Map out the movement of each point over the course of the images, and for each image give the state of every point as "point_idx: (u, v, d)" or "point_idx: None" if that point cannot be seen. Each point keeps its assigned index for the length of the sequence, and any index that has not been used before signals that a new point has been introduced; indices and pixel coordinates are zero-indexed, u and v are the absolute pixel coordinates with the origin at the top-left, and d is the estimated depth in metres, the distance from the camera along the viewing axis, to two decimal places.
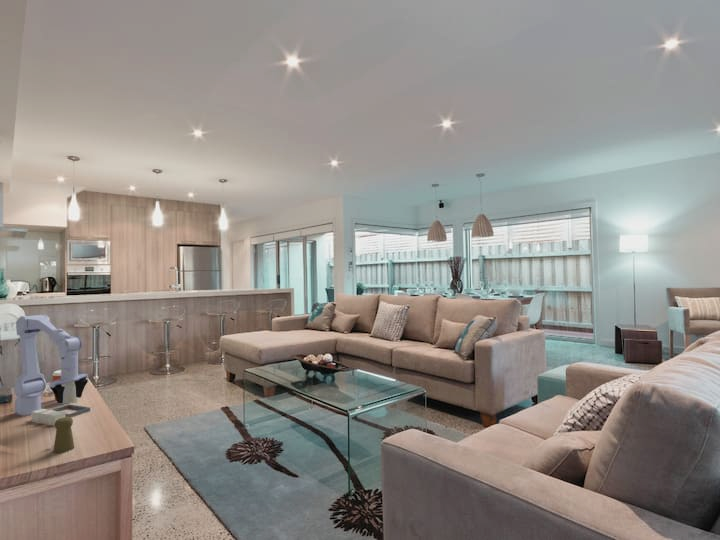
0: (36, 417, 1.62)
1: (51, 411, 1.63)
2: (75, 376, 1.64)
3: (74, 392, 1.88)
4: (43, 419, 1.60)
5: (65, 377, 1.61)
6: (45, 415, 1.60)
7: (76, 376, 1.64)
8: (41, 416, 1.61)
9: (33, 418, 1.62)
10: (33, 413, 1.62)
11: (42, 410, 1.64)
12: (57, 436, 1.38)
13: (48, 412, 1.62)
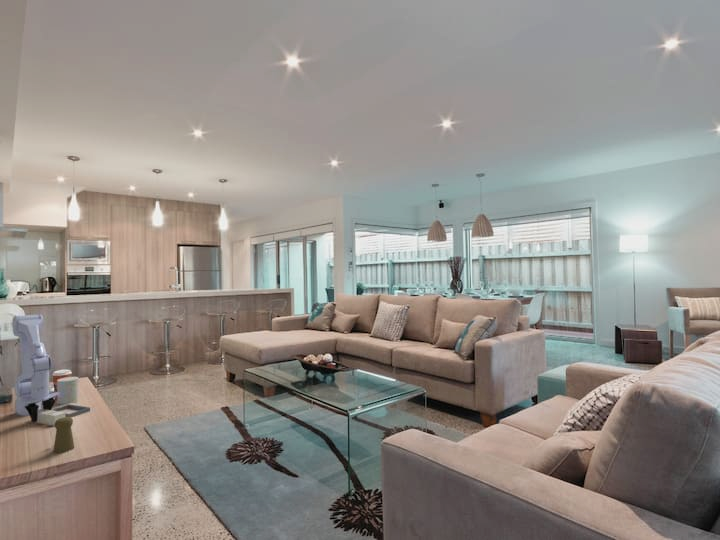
0: None
1: (51, 411, 1.63)
2: (46, 395, 1.63)
3: (74, 392, 1.88)
4: (43, 419, 1.60)
5: (36, 397, 1.61)
6: (45, 415, 1.60)
7: (47, 395, 1.64)
8: (41, 416, 1.61)
9: None
10: None
11: (42, 410, 1.64)
12: (57, 436, 1.38)
13: (48, 412, 1.62)
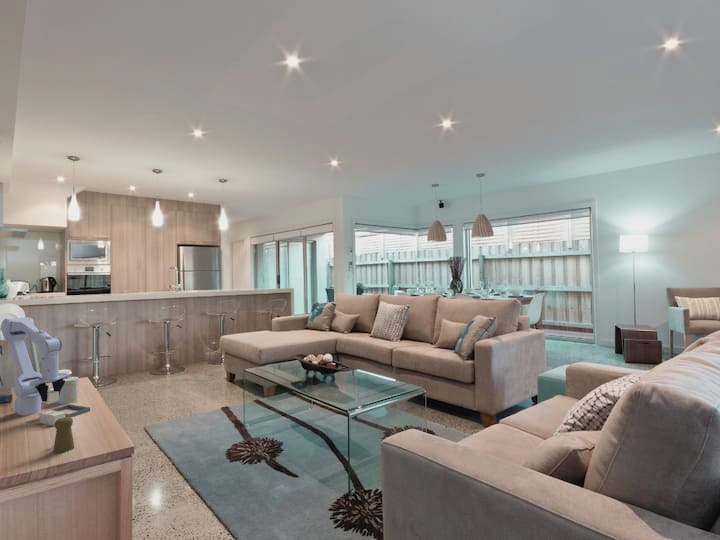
0: (47, 398, 1.66)
1: (51, 411, 1.63)
2: (55, 376, 1.67)
3: (74, 392, 1.88)
4: (43, 419, 1.60)
5: (46, 377, 1.65)
6: (45, 415, 1.60)
7: (56, 376, 1.68)
8: (41, 416, 1.61)
9: None
10: None
11: (52, 392, 1.68)
12: (57, 436, 1.38)
13: (48, 412, 1.62)
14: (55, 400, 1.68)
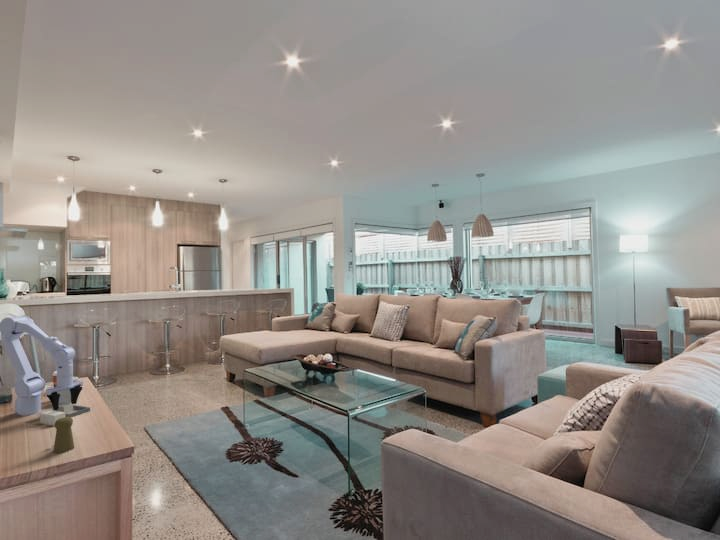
0: (62, 410, 1.71)
1: (51, 411, 1.63)
2: (70, 384, 1.73)
3: None
4: (43, 419, 1.60)
5: (61, 385, 1.71)
6: (45, 415, 1.60)
7: (71, 384, 1.74)
8: (41, 416, 1.61)
9: None
10: (59, 407, 1.72)
11: (67, 404, 1.74)
12: (57, 436, 1.38)
13: (48, 412, 1.62)
14: None
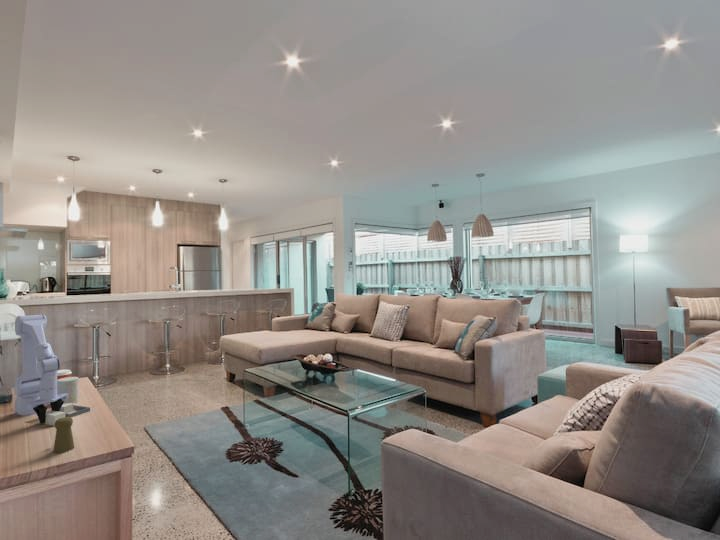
0: (62, 410, 1.71)
1: (51, 411, 1.63)
2: (54, 397, 1.62)
3: (74, 392, 1.88)
4: None
5: (44, 398, 1.60)
6: (45, 415, 1.60)
7: (55, 397, 1.62)
8: None
9: None
10: None
11: (67, 404, 1.74)
12: (57, 436, 1.38)
13: (48, 412, 1.62)
14: None
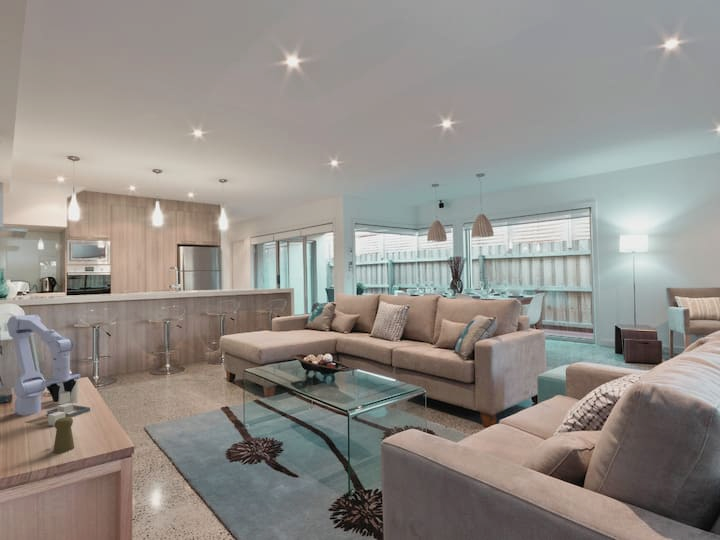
0: (62, 410, 1.71)
1: (64, 392, 1.68)
2: (67, 376, 1.67)
3: (74, 392, 1.88)
4: None
5: (57, 377, 1.64)
6: (59, 395, 1.65)
7: (68, 376, 1.67)
8: None
9: None
10: (59, 407, 1.72)
11: (67, 404, 1.74)
12: (57, 436, 1.38)
13: (61, 392, 1.67)
14: None
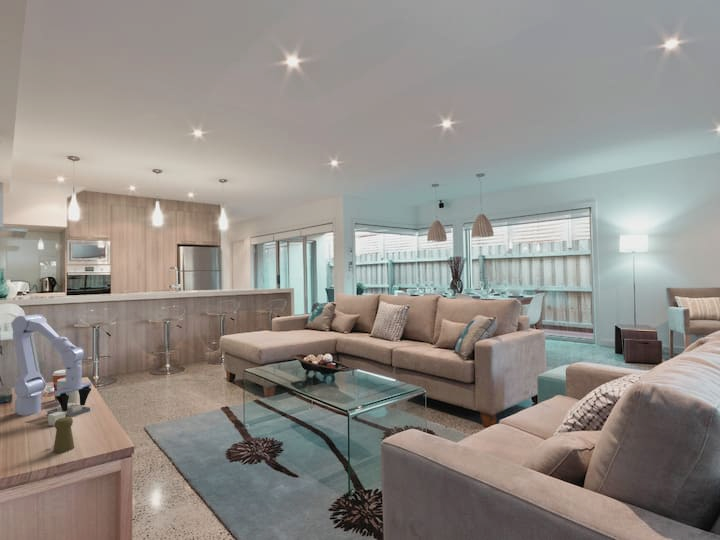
0: None
1: (77, 405, 1.73)
2: (79, 385, 1.71)
3: (74, 392, 1.88)
4: (70, 412, 1.70)
5: (70, 386, 1.69)
6: (72, 409, 1.69)
7: (80, 385, 1.72)
8: (68, 410, 1.70)
9: None
10: (59, 407, 1.72)
11: None
12: (57, 436, 1.38)
13: (74, 406, 1.71)
14: None
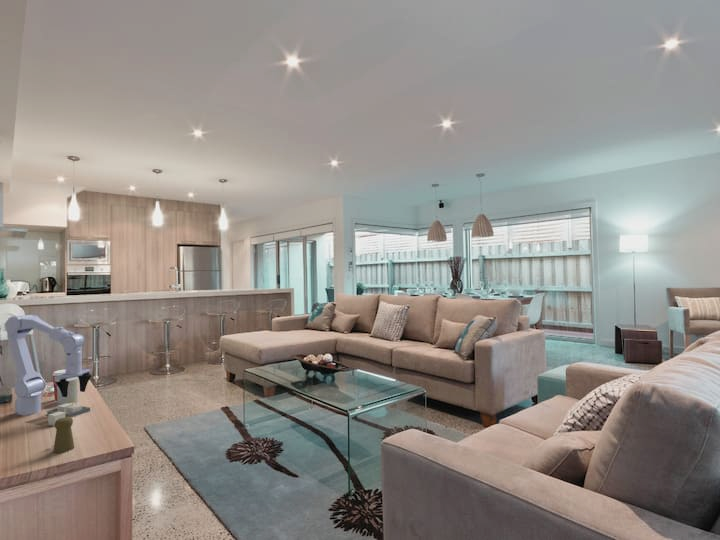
0: (62, 410, 1.71)
1: (77, 405, 1.73)
2: (79, 371, 1.71)
3: (74, 392, 1.88)
4: (70, 412, 1.70)
5: (70, 372, 1.69)
6: (72, 409, 1.69)
7: (80, 371, 1.72)
8: (68, 410, 1.70)
9: None
10: (59, 407, 1.72)
11: (67, 404, 1.74)
12: (57, 436, 1.38)
13: (74, 406, 1.71)
14: None
